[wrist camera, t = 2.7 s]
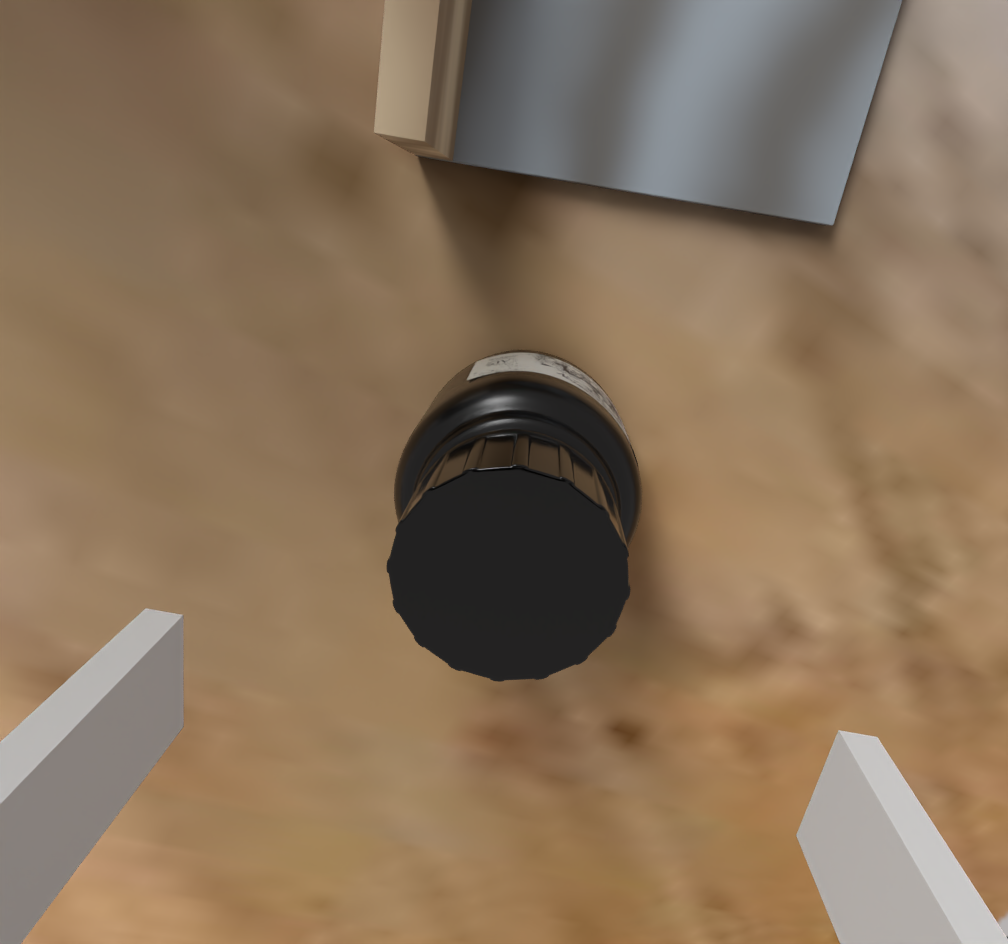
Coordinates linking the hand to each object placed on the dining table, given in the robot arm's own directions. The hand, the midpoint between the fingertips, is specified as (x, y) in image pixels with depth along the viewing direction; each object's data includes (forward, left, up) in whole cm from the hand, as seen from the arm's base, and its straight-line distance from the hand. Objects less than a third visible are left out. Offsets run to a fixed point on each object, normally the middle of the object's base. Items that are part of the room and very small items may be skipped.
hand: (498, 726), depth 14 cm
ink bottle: (0, 0, -18) cm, 18 cm away
